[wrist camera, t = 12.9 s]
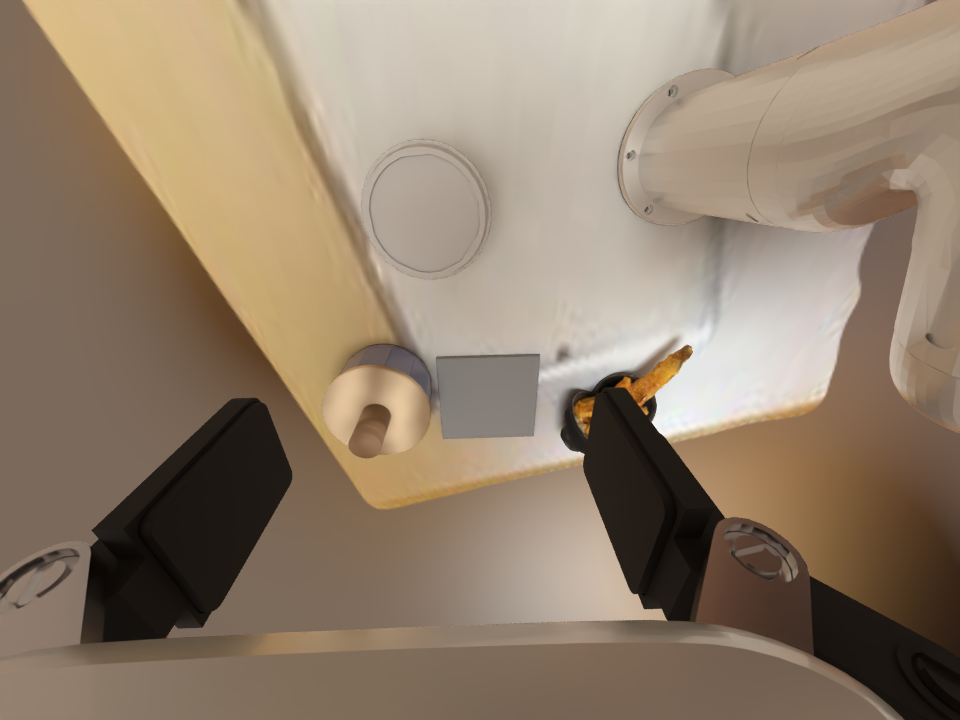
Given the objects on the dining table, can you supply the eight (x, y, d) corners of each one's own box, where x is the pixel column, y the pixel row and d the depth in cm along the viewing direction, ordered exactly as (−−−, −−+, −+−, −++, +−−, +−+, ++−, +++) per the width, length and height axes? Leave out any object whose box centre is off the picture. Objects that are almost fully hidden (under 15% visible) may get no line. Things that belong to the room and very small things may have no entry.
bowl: (427, 342, 42) (421, 366, 37) (434, 414, 47) (429, 444, 42) (337, 345, 42) (318, 369, 36) (354, 416, 47) (340, 447, 42)
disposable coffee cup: (421, 267, 38) (403, 303, 27) (372, 179, 33) (327, 181, 23) (499, 227, 36) (513, 249, 25) (458, 129, 32) (453, 106, 21)
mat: (539, 354, 43) (540, 356, 43) (532, 433, 49) (533, 436, 49) (436, 356, 43) (436, 359, 42) (443, 436, 49) (443, 438, 49)
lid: (425, 362, 36) (418, 394, 31) (435, 447, 42) (430, 486, 37) (313, 366, 36) (286, 398, 31) (337, 450, 42) (318, 490, 37)
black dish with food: (535, 439, 44) (646, 358, 32) (559, 392, 52) (655, 313, 40) (590, 487, 44) (722, 423, 32) (605, 432, 52) (715, 364, 40)
